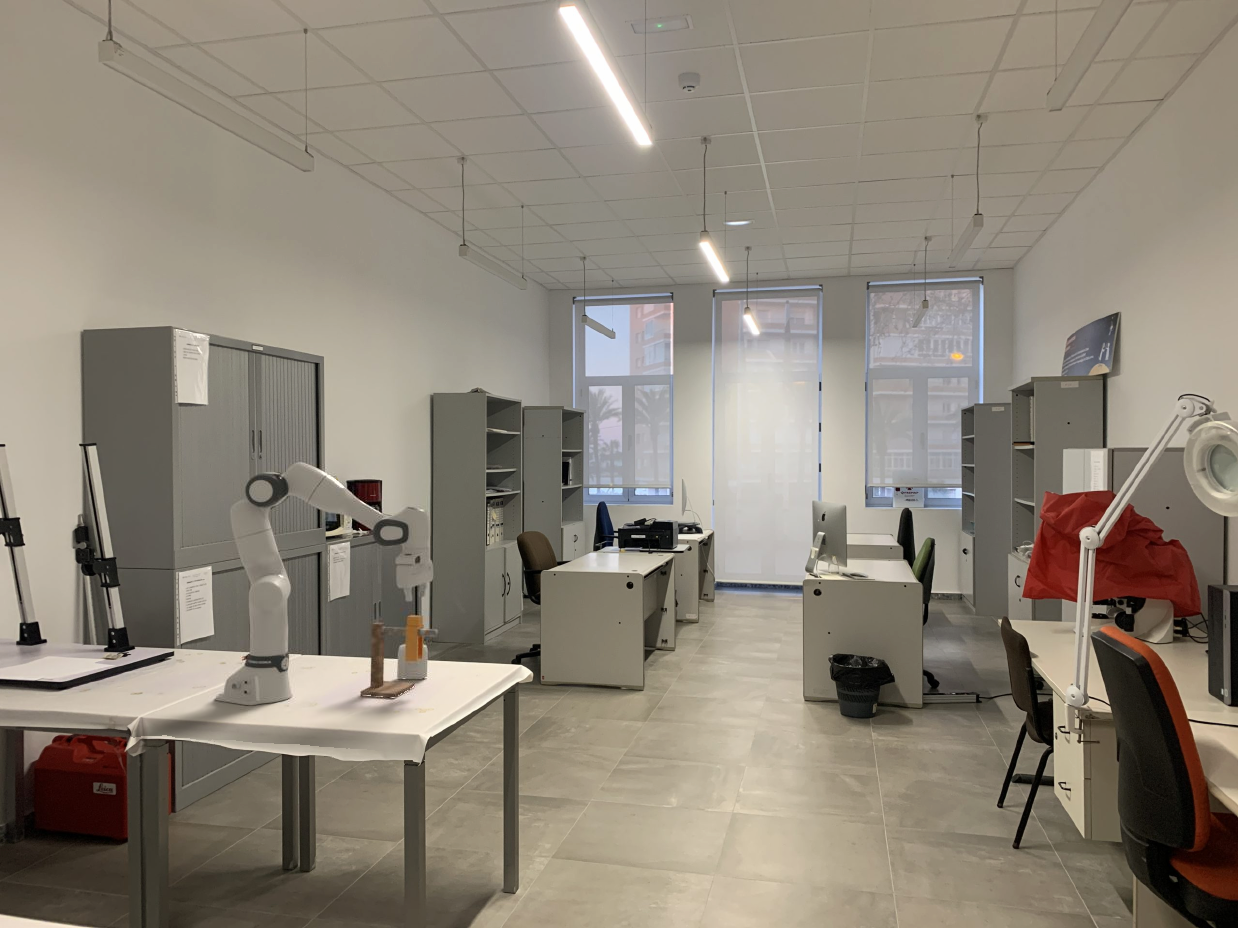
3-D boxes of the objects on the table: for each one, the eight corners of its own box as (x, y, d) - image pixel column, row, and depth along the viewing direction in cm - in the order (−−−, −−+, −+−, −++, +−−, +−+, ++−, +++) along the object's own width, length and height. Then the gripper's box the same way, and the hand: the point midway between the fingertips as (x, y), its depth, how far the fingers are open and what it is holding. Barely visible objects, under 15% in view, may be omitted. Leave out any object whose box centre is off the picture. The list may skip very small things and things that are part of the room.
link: (405, 660, 259) (406, 617, 260) (411, 657, 264) (412, 614, 264) (416, 661, 259) (417, 617, 259) (423, 658, 263) (423, 615, 264)
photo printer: (427, 676, 283) (428, 641, 284) (426, 679, 279) (427, 644, 279) (398, 677, 282) (398, 642, 282) (396, 680, 278) (397, 644, 278)
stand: (360, 695, 257) (361, 626, 257) (381, 685, 271) (382, 619, 271) (425, 700, 253) (427, 630, 253) (443, 689, 266) (445, 622, 267)
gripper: (420, 553, 273) (420, 593, 273) (392, 559, 253) (392, 602, 252) (438, 553, 272) (437, 594, 271) (411, 559, 252) (410, 603, 251)
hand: (415, 598), depth 262 cm, fingers open, 8 cm apart
